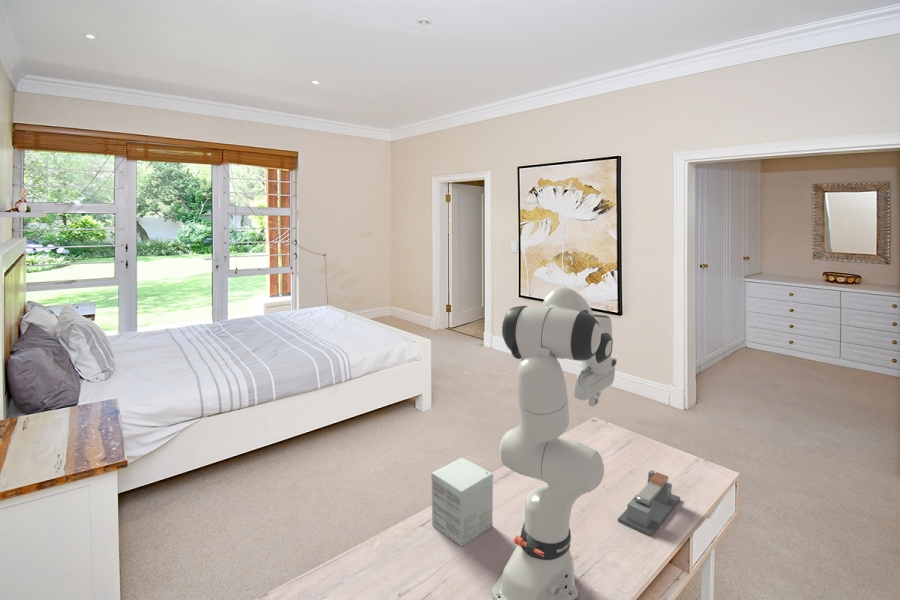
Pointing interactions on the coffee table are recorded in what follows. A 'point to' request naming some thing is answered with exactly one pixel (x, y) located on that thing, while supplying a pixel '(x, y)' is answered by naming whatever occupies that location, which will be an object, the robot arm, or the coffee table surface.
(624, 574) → the coffee table surface
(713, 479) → the coffee table surface
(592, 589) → the coffee table surface
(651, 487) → the bar
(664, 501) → the base
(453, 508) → the supplement box
